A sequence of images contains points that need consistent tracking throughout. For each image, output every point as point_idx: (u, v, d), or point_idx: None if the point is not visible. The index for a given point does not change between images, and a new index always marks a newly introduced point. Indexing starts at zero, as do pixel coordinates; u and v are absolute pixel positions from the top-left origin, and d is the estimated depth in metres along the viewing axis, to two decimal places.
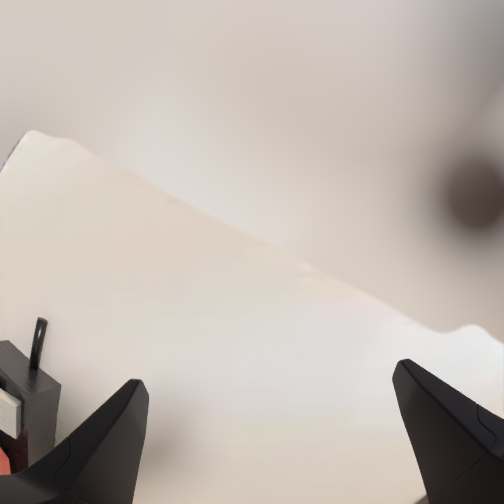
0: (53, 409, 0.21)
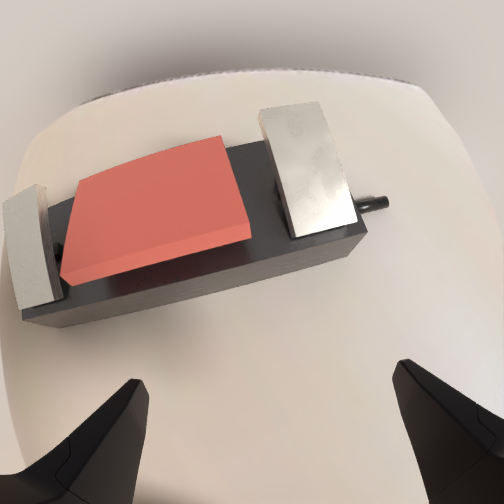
0: (316, 262, 0.23)
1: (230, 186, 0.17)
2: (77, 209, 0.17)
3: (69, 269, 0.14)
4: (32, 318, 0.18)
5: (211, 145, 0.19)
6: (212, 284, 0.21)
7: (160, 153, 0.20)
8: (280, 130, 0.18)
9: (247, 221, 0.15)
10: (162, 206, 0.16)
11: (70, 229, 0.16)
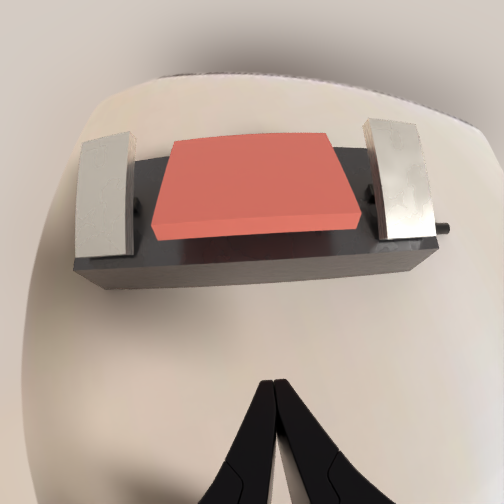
0: (385, 270, 0.23)
1: (340, 178, 0.17)
2: (174, 166, 0.18)
3: (163, 221, 0.15)
4: (86, 270, 0.19)
5: (318, 140, 0.20)
6: (293, 271, 0.21)
7: (266, 135, 0.20)
8: (384, 141, 0.18)
9: (359, 211, 0.15)
10: (275, 181, 0.17)
11: (165, 183, 0.17)
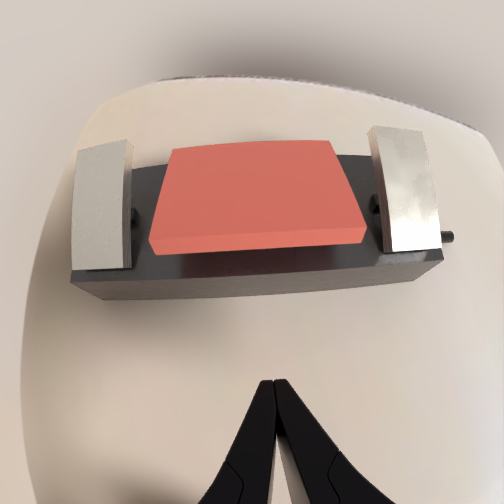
0: (388, 281, 0.22)
1: (345, 190, 0.17)
2: (173, 176, 0.18)
3: (161, 235, 0.15)
4: (83, 282, 0.19)
5: (321, 148, 0.19)
6: (295, 283, 0.21)
7: (268, 142, 0.20)
8: (390, 149, 0.17)
9: (365, 226, 0.15)
10: (278, 193, 0.16)
11: (163, 194, 0.17)
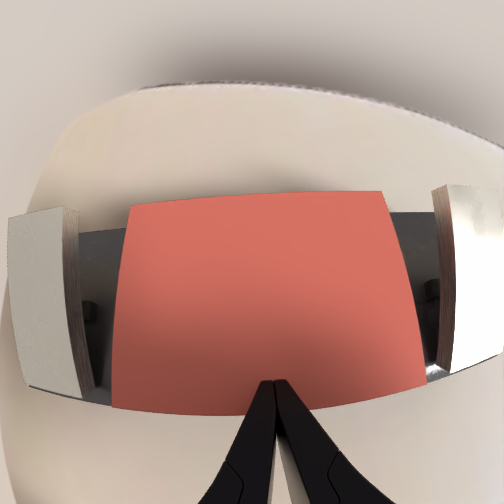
0: None
1: (407, 311, 0.10)
2: (131, 274, 0.11)
3: (128, 403, 0.09)
4: None
5: (372, 210, 0.12)
6: None
7: (287, 197, 0.12)
8: (465, 223, 0.10)
9: (425, 382, 0.08)
10: (305, 329, 0.10)
11: (120, 317, 0.10)
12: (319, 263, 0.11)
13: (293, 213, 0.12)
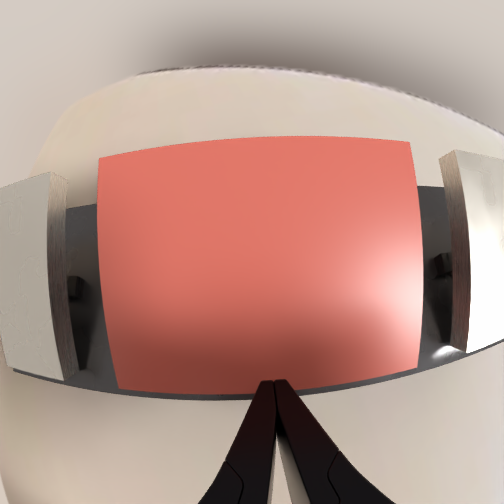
0: None
1: (414, 295, 0.09)
2: (112, 250, 0.09)
3: (134, 385, 0.09)
4: (28, 374, 0.11)
5: (396, 168, 0.09)
6: None
7: (294, 143, 0.09)
8: (476, 191, 0.09)
9: (415, 365, 0.09)
10: (307, 312, 0.09)
11: (109, 300, 0.09)
12: (328, 236, 0.09)
13: (301, 167, 0.09)
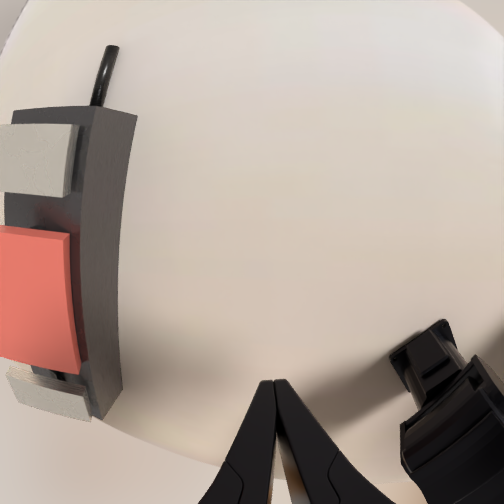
0: (123, 155, 0.19)
1: (25, 241, 0.14)
2: (24, 358, 0.17)
3: (74, 368, 0.18)
4: (101, 412, 0.22)
5: None
6: (101, 267, 0.20)
7: None
8: None
9: (61, 241, 0.15)
10: (32, 297, 0.15)
11: (41, 365, 0.17)
12: (5, 282, 0.14)
13: None
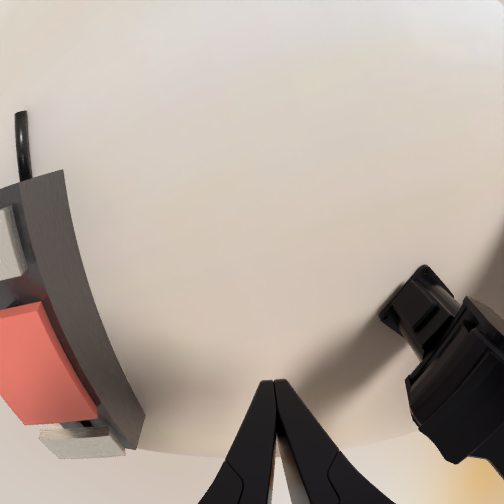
0: (63, 211, 0.18)
1: (7, 322, 0.14)
2: (48, 419, 0.17)
3: (92, 413, 0.19)
4: (132, 443, 0.23)
5: None
6: (81, 318, 0.20)
7: None
8: None
9: (36, 312, 0.15)
10: (33, 366, 0.15)
11: (64, 420, 0.18)
12: (6, 361, 0.14)
13: None
